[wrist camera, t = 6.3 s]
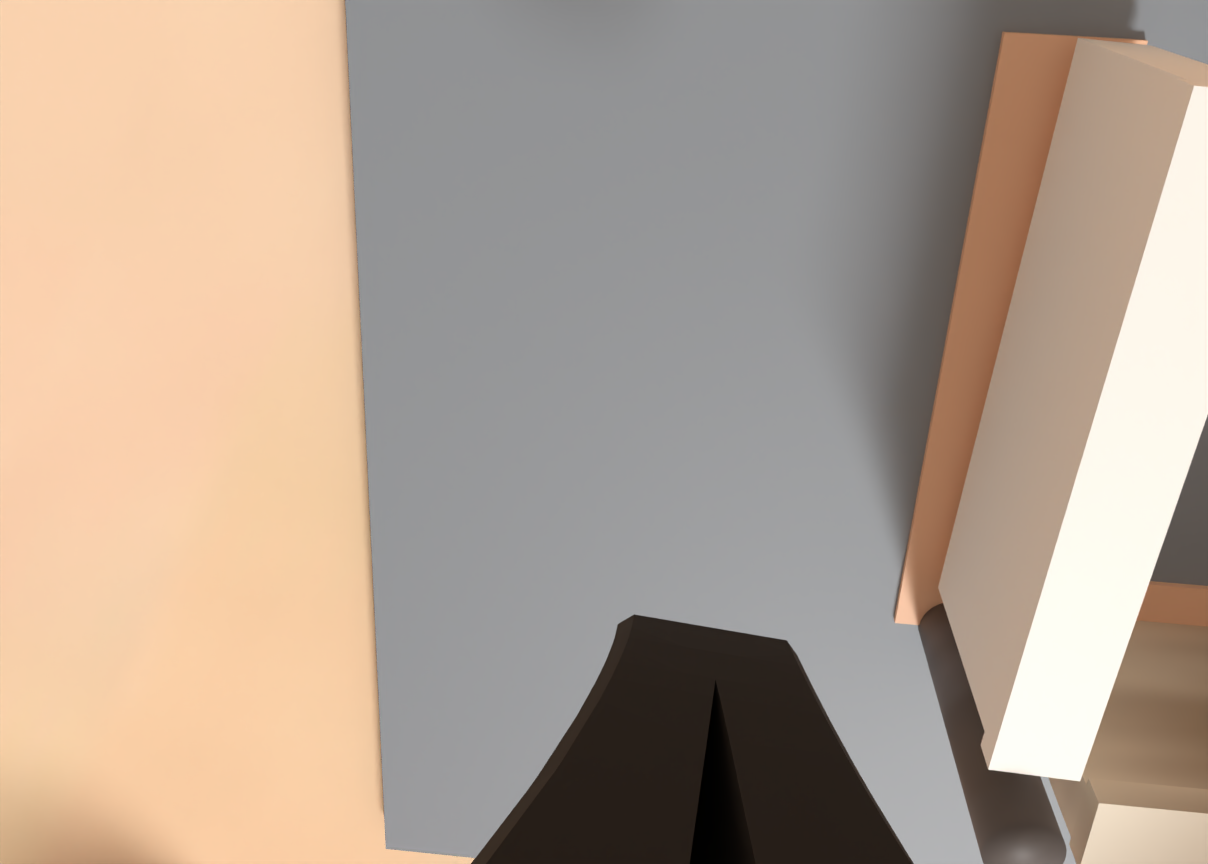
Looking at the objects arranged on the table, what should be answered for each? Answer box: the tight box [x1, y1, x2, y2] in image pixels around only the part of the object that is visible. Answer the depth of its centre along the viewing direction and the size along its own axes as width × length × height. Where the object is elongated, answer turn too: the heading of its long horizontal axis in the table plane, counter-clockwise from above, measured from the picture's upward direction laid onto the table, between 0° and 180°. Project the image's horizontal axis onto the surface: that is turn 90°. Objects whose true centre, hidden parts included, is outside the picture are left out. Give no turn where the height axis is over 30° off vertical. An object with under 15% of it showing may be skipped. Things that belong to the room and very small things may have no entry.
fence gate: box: [938, 38, 1208, 781], centre depth 13 cm, size 7×1×4 cm, turn 175°
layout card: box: [345, 0, 1208, 864], centre depth 16 cm, size 15×15×1 cm
